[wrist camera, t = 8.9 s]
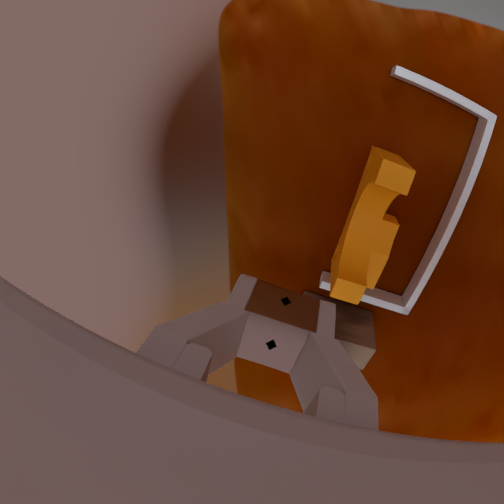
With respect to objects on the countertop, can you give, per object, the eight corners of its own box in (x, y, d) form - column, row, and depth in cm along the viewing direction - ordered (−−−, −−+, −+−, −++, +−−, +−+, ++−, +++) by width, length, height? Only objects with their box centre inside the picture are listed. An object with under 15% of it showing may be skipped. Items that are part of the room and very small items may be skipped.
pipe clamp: (370, 271, 31) (376, 310, 26) (331, 259, 32) (329, 296, 26) (415, 161, 25) (436, 180, 20) (372, 144, 26) (383, 158, 20)
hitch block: (372, 311, 33) (377, 372, 25) (361, 331, 34) (363, 392, 27) (304, 290, 34) (293, 349, 26) (296, 311, 35) (283, 370, 27)
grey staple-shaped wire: (487, 114, 21) (497, 115, 19) (404, 303, 32) (407, 315, 30) (392, 67, 22) (396, 65, 20) (320, 276, 32) (319, 287, 31)
